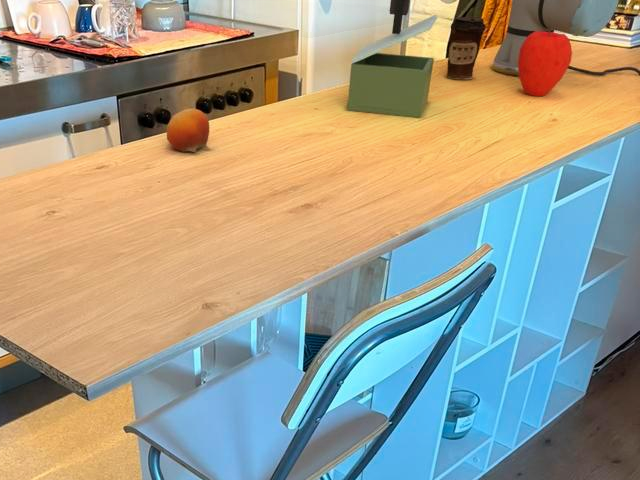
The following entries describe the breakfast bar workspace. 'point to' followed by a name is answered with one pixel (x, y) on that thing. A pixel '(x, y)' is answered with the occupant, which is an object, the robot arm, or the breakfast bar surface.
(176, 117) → the fruit
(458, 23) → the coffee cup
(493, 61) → the robot arm
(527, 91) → the apple
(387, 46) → the pale blue box lid
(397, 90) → the green storage bin
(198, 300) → the breakfast bar surface
